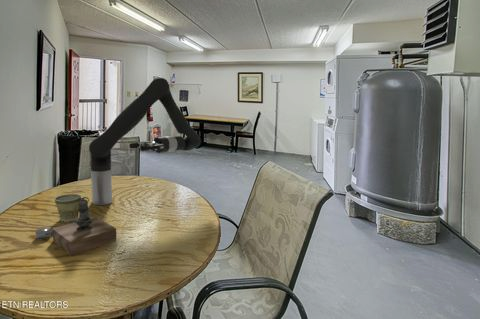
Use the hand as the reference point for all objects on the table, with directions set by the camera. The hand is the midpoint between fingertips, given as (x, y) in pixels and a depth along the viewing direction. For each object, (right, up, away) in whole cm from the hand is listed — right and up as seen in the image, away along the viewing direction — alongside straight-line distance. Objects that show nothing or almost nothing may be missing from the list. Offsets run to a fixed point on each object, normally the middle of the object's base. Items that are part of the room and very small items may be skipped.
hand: (135, 147), depth 133 cm
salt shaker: (-11, -31, -21) cm, 39 cm away
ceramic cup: (-27, -32, 0) cm, 42 cm away
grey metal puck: (-28, -35, -19) cm, 49 cm away
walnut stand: (-12, -36, -20) cm, 43 cm away
